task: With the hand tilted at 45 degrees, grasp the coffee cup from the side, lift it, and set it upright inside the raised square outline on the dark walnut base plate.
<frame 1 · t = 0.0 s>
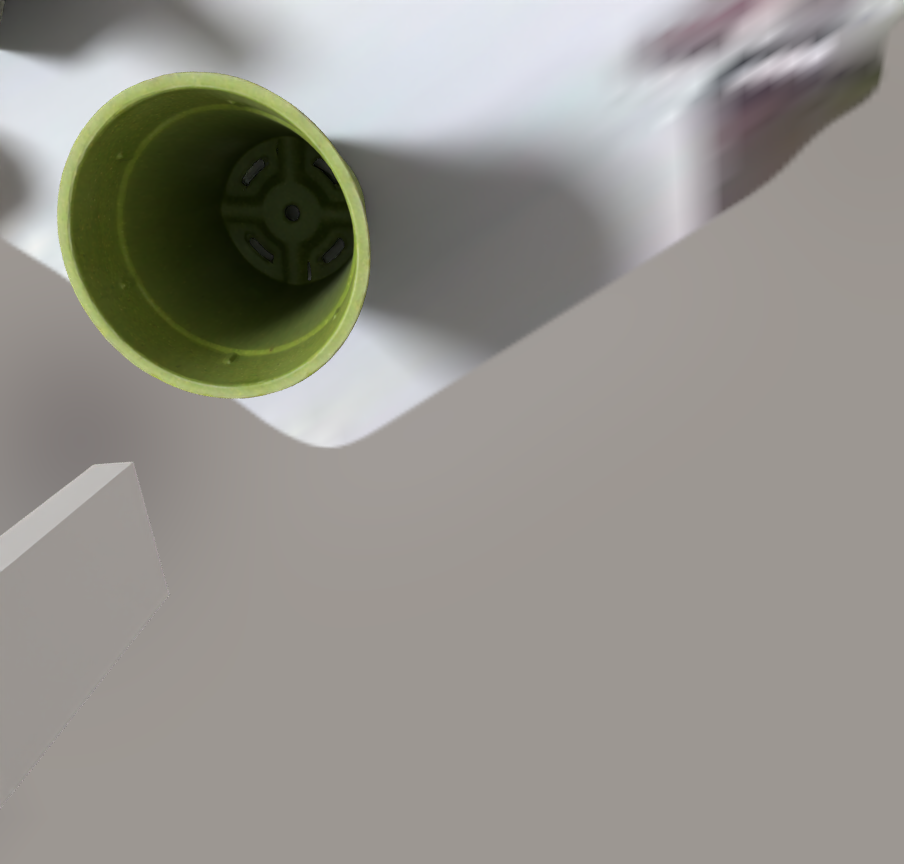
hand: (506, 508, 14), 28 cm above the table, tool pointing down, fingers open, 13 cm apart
plant pot: (298, 214, 41), on the table
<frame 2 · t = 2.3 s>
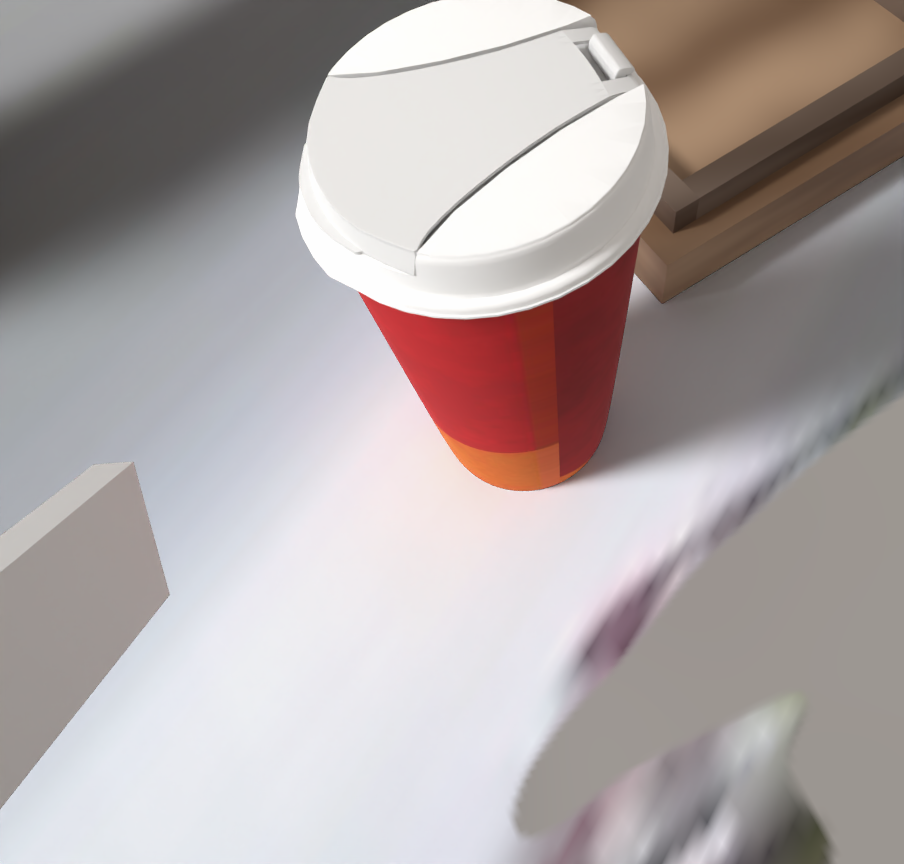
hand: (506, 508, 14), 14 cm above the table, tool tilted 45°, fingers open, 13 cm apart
coffee cup: (523, 419, 31), on the table
walnut base plate: (701, 84, 36), on the table
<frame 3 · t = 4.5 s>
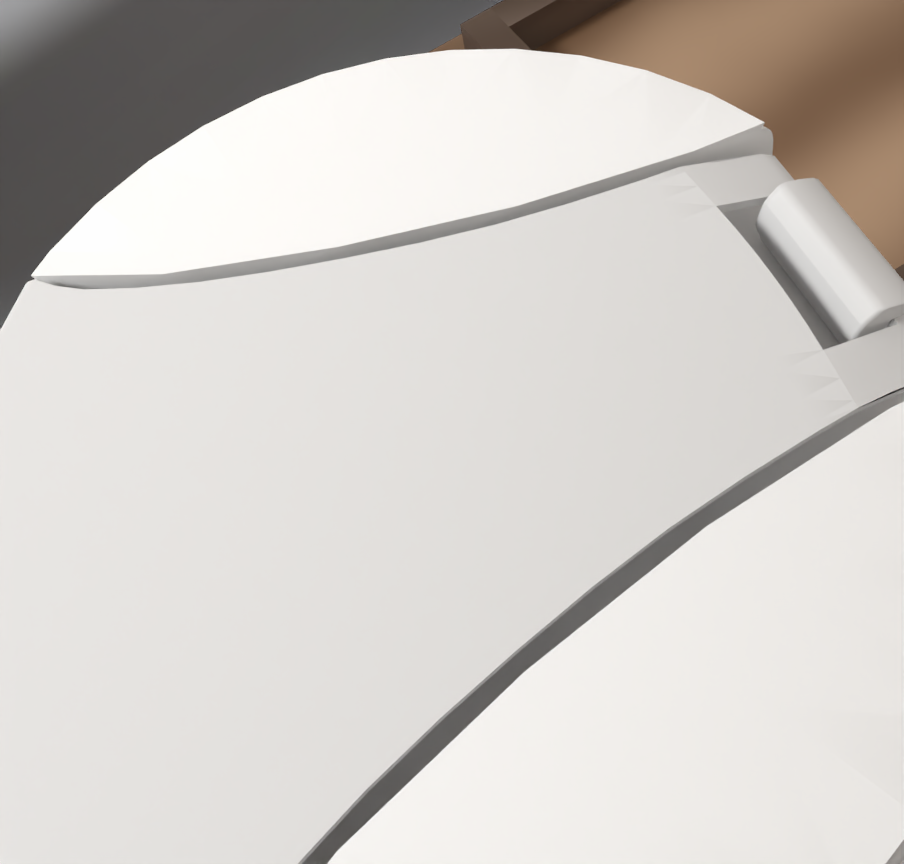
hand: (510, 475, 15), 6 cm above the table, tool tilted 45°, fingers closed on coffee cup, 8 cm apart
coffee cup: (538, 697, 19), on the table, touching gripper
walnut base plate: (800, 147, 24), on the table
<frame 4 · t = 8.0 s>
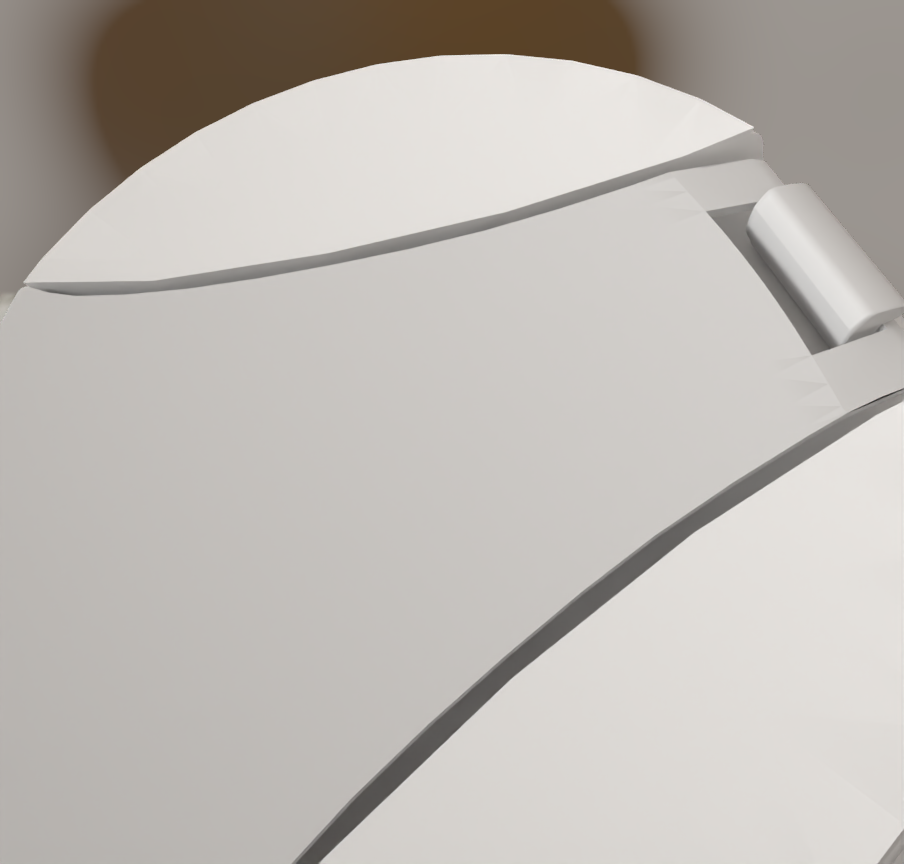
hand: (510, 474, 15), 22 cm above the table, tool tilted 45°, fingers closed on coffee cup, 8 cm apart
coffee cup: (538, 700, 19), point 16 cm above the table, touching gripper
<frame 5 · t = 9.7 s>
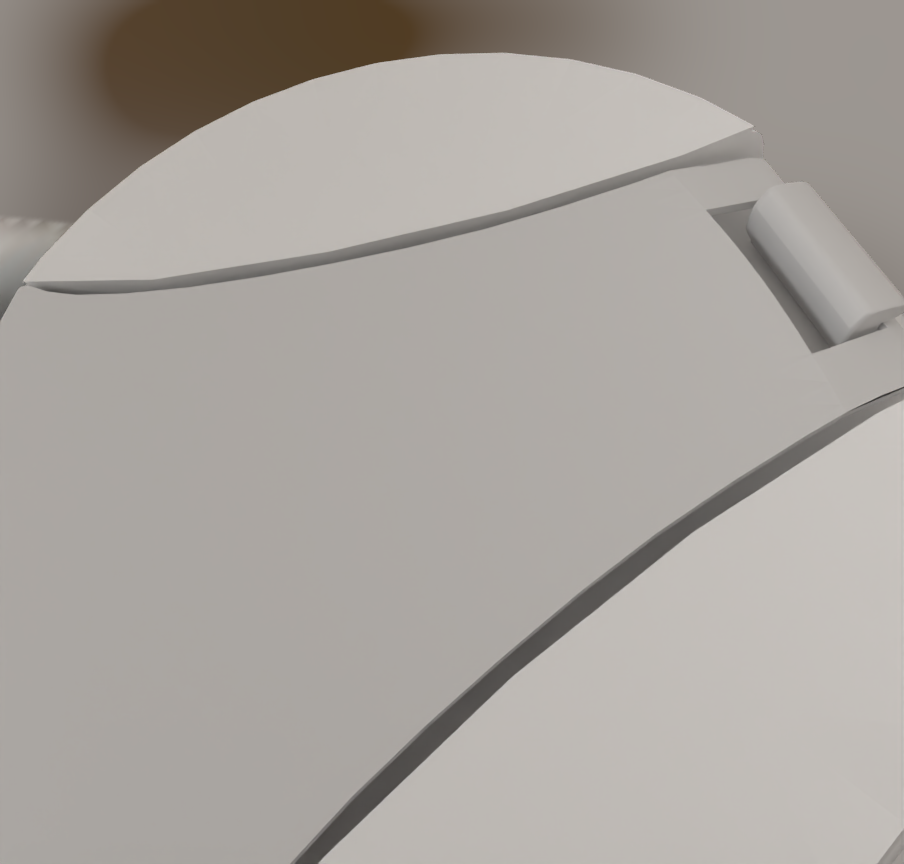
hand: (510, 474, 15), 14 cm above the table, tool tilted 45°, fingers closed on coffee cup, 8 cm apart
coffee cup: (538, 700, 19), point 9 cm above the table, touching gripper
when the fingers open (10 cm above the table, at t = 11.3 s): coffee cup drops 1 cm, resting on walnut base plate.
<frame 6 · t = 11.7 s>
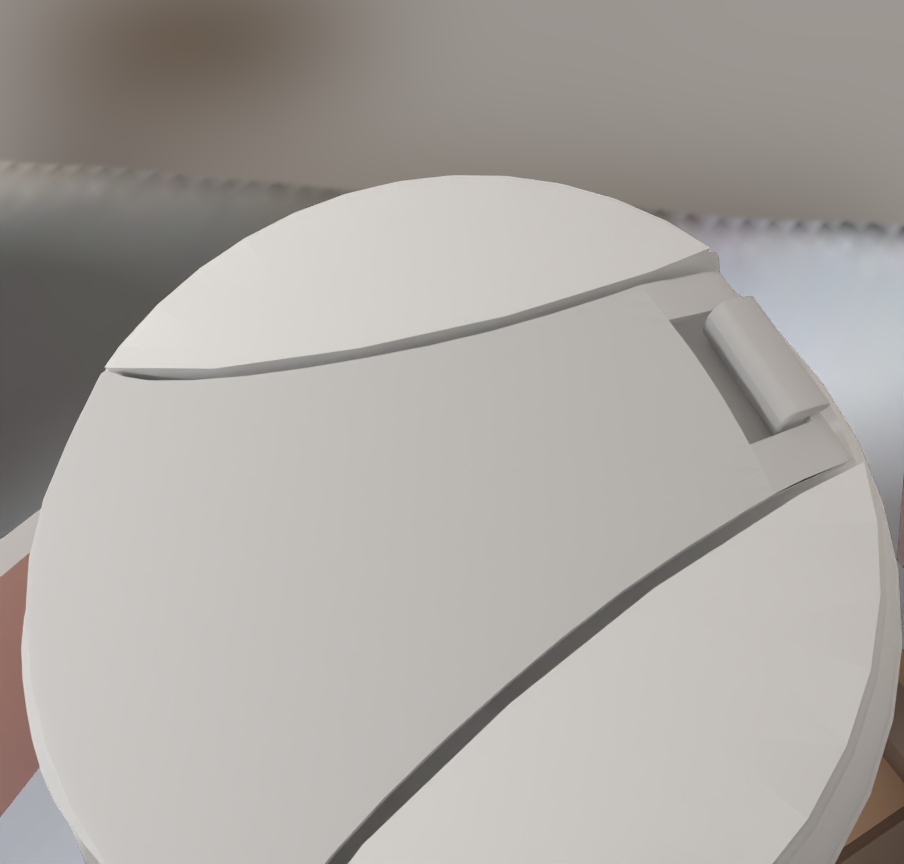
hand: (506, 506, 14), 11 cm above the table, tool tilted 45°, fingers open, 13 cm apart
coffee cup: (537, 708, 20), point 2 cm above the table, touching walnut base plate
walnut base plate: (547, 713, 23), on the table
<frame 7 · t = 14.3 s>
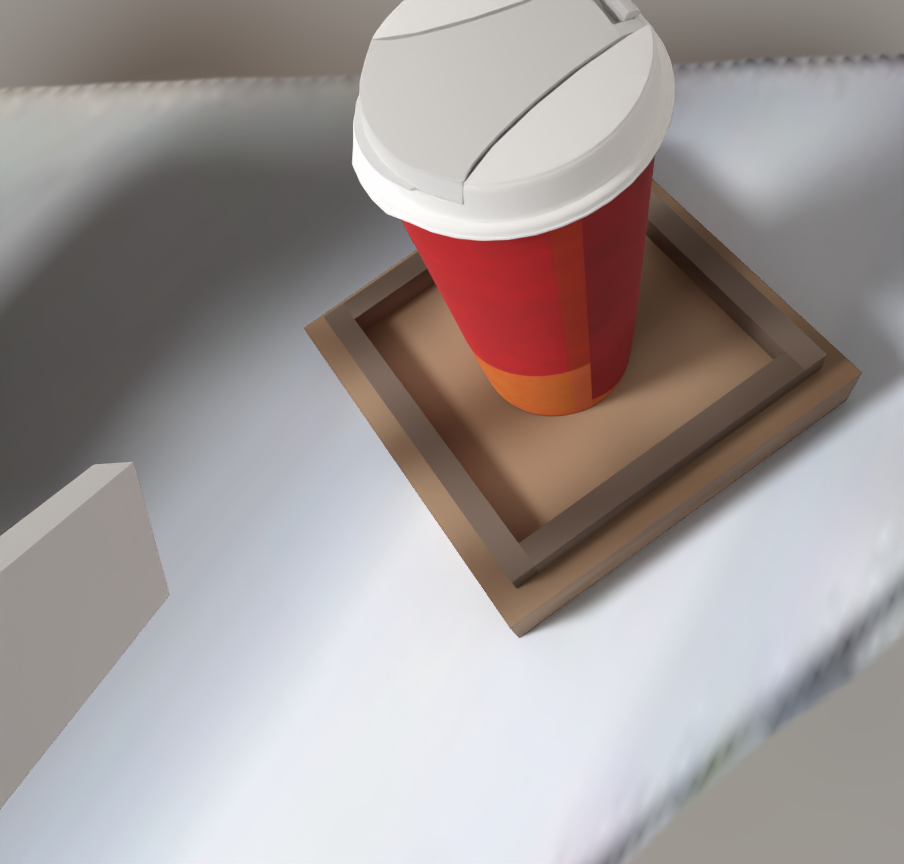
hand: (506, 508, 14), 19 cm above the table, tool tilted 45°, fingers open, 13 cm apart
coffee cup: (554, 353, 33), point 2 cm above the table, touching walnut base plate
walnut base plate: (562, 375, 35), on the table
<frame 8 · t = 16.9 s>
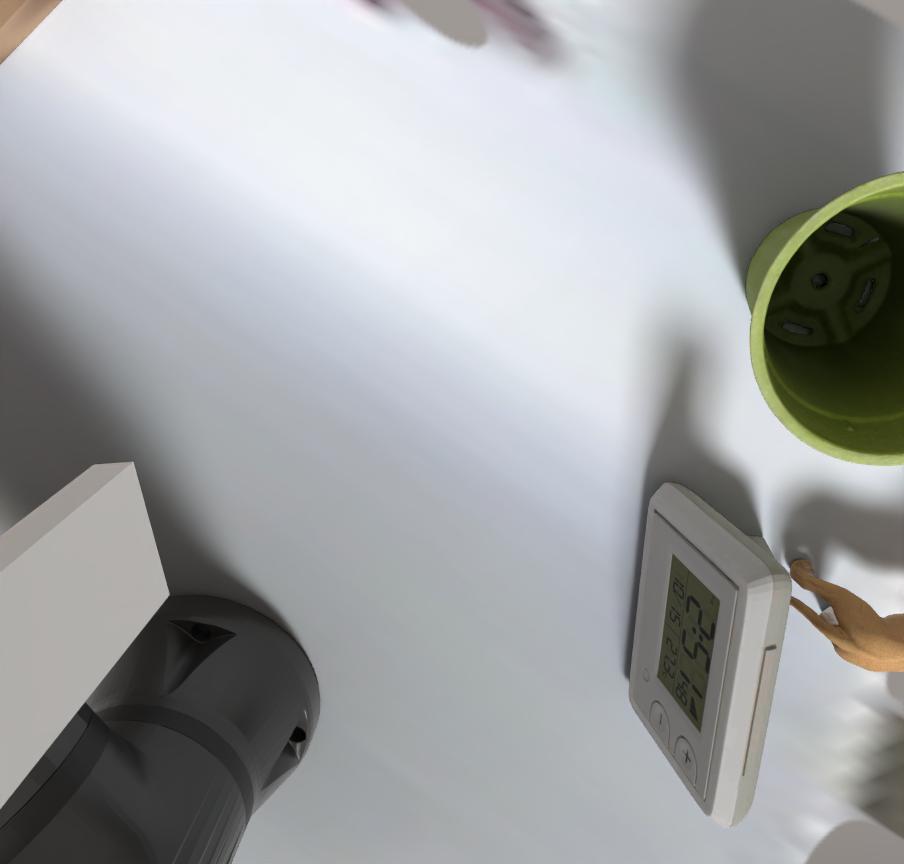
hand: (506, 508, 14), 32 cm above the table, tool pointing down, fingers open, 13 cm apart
lion figurine: (891, 587, 48), on the table
plant pot: (817, 275, 43), on the table
digital clock: (682, 593, 50), on the table
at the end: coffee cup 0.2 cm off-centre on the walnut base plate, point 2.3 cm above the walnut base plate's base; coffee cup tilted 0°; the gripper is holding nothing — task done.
